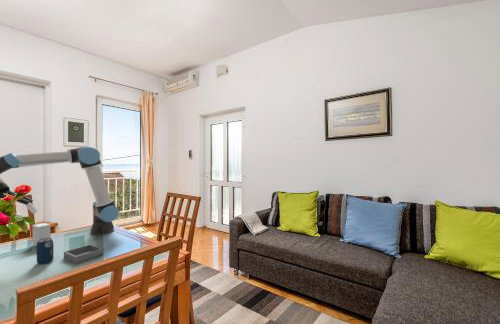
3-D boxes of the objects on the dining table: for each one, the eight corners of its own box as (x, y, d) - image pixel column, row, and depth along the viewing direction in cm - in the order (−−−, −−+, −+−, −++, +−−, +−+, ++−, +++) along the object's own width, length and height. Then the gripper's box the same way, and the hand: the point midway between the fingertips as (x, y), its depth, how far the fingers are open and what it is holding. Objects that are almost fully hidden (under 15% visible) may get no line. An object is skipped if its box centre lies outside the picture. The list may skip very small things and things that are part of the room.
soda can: (55, 261, 130) (54, 239, 130) (38, 266, 125) (38, 243, 124) (51, 258, 134) (51, 236, 134) (35, 262, 129) (34, 240, 128)
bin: (90, 250, 146) (90, 244, 145) (102, 255, 139) (102, 248, 138) (63, 258, 134) (63, 251, 134) (75, 264, 127) (75, 257, 127)
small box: (51, 244, 155) (50, 224, 154) (38, 248, 149) (38, 227, 149) (44, 242, 158) (44, 222, 158) (32, 245, 153) (32, 225, 152)
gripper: (14, 188, 141) (40, 214, 141) (-37, 195, 116) (-6, 227, 116) (23, 179, 141) (49, 205, 141) (-26, 184, 116) (4, 216, 116)
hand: (24, 215), depth 129 cm, fingers open, 13 cm apart
